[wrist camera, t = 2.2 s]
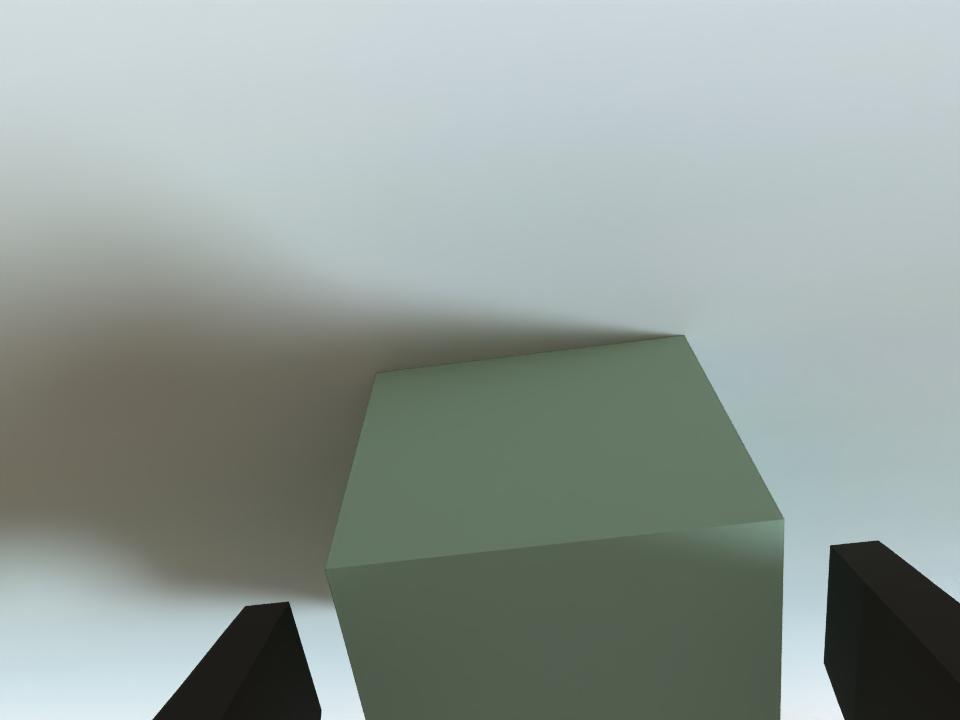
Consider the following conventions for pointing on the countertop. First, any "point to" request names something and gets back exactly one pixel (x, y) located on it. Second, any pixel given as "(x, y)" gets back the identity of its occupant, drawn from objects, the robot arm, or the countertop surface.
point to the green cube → (559, 544)
